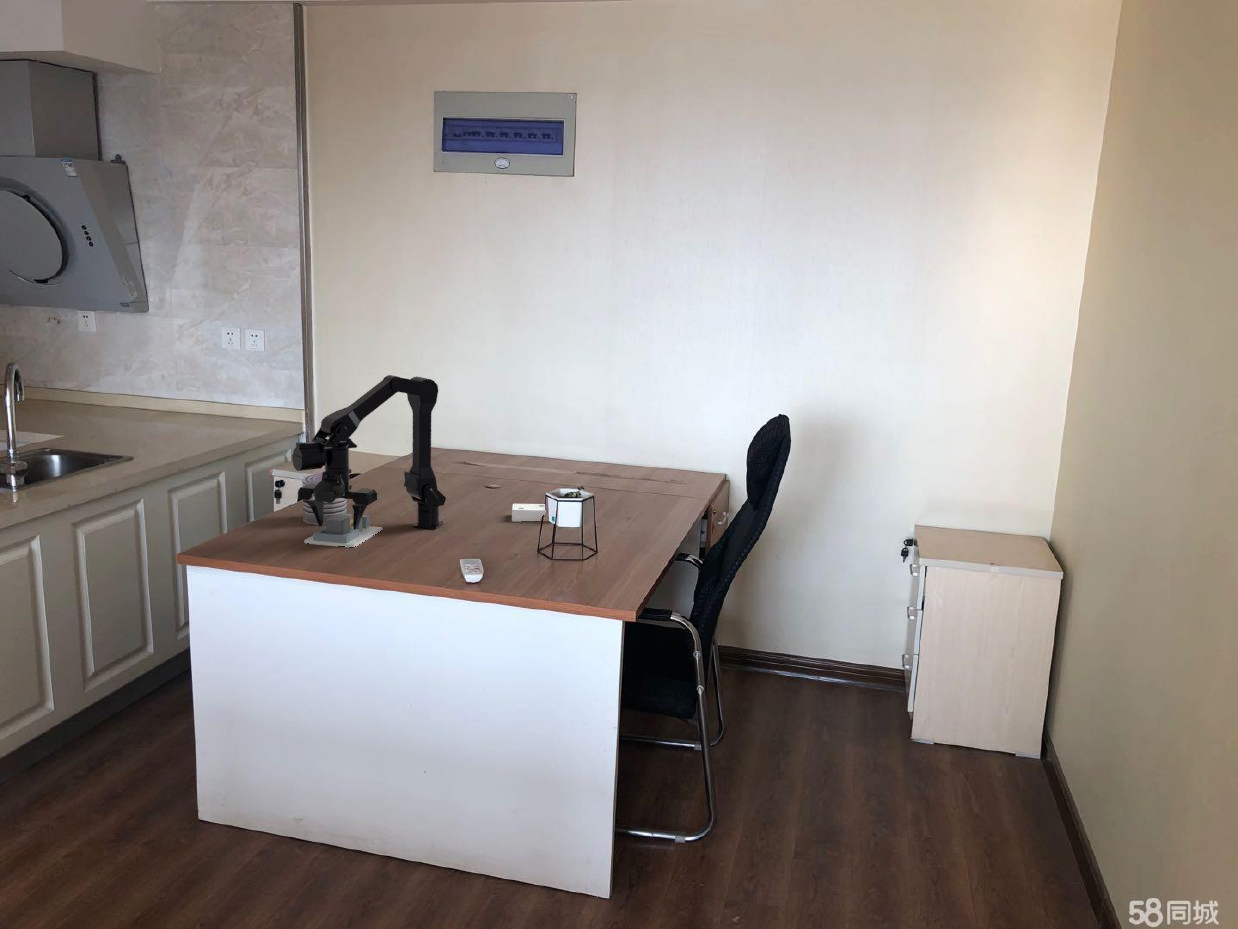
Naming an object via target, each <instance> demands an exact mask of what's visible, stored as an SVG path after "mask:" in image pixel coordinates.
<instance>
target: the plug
mask: <svg viewBox="0 0 1238 929" xmlns="http://www.w3.org/2000/svg"><path fill="white" fill-rule="evenodd" d="M361 519H362V518H361ZM325 527H326V533H328V534H339V535H345V534H346V533H348V532H350V528H351V527H353V518H352V520H351V521H350V516H342V515H334V516H332V517H330V518H328V519H326V525H325Z"/></svg>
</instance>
